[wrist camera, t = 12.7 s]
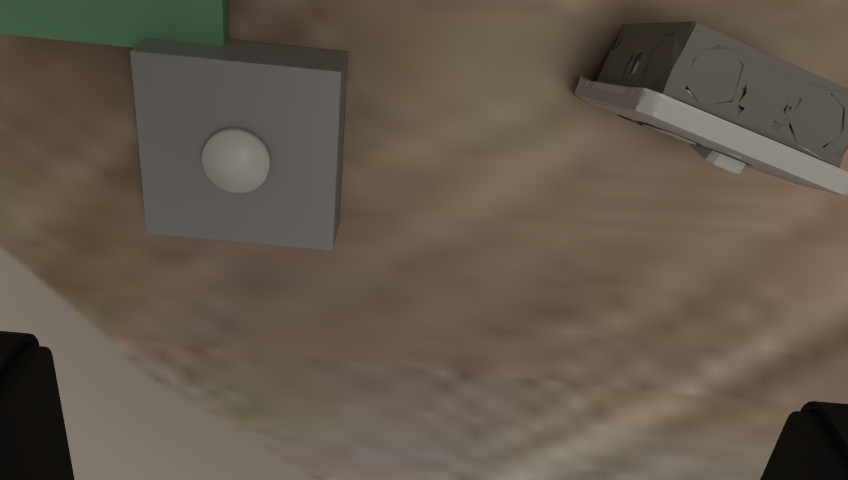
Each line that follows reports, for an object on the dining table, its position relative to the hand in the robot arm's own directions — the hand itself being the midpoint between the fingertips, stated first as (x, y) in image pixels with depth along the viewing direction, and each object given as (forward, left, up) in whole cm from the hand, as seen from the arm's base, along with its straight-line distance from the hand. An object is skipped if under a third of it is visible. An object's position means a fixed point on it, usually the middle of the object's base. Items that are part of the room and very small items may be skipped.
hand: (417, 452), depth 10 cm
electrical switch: (+3, +12, -29) cm, 31 cm away
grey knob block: (+8, -8, -28) cm, 30 cm away
